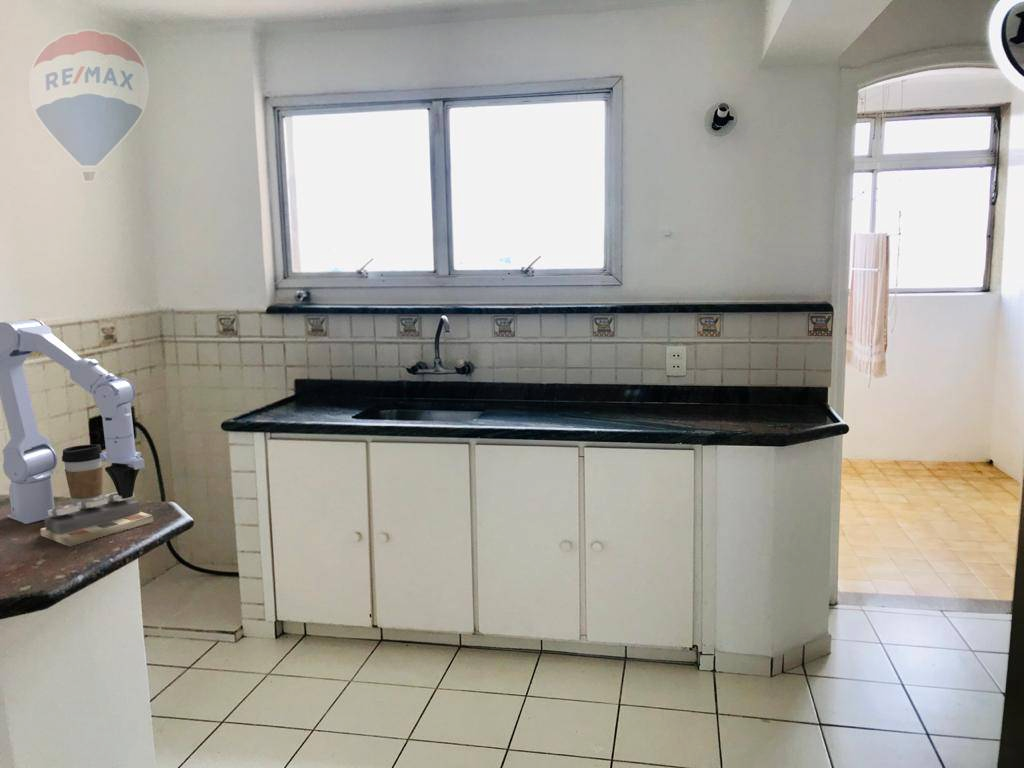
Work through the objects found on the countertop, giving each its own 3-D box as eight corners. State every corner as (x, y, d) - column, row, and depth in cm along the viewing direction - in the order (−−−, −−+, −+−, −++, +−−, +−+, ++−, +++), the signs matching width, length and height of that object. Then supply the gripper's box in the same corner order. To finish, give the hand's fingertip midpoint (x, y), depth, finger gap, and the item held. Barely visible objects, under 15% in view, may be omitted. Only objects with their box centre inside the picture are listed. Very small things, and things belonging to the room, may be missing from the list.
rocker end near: (48, 517, 171) (46, 508, 171) (66, 512, 174) (65, 504, 174) (61, 517, 168) (60, 508, 168) (80, 512, 171) (78, 503, 171)
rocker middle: (77, 509, 176) (75, 501, 176) (94, 505, 179) (93, 496, 179) (90, 509, 173) (89, 501, 172) (108, 504, 176) (107, 496, 175)
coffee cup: (91, 516, 184) (84, 451, 182) (59, 515, 186) (51, 450, 183) (116, 505, 192) (110, 442, 190) (85, 503, 194) (78, 441, 191)
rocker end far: (104, 501, 181) (103, 493, 181) (121, 497, 184) (120, 489, 184) (118, 503, 177) (117, 494, 177) (135, 498, 180) (134, 490, 180)
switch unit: (41, 535, 172) (38, 517, 171) (124, 512, 186) (122, 495, 186) (69, 546, 165) (67, 527, 164) (153, 522, 179) (151, 504, 179)
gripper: (155, 435, 176) (161, 497, 178) (119, 429, 184) (126, 488, 186) (123, 442, 170) (130, 505, 172) (88, 435, 179) (95, 495, 181)
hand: (126, 497), depth 179 cm, fingers closed, pressing on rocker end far
